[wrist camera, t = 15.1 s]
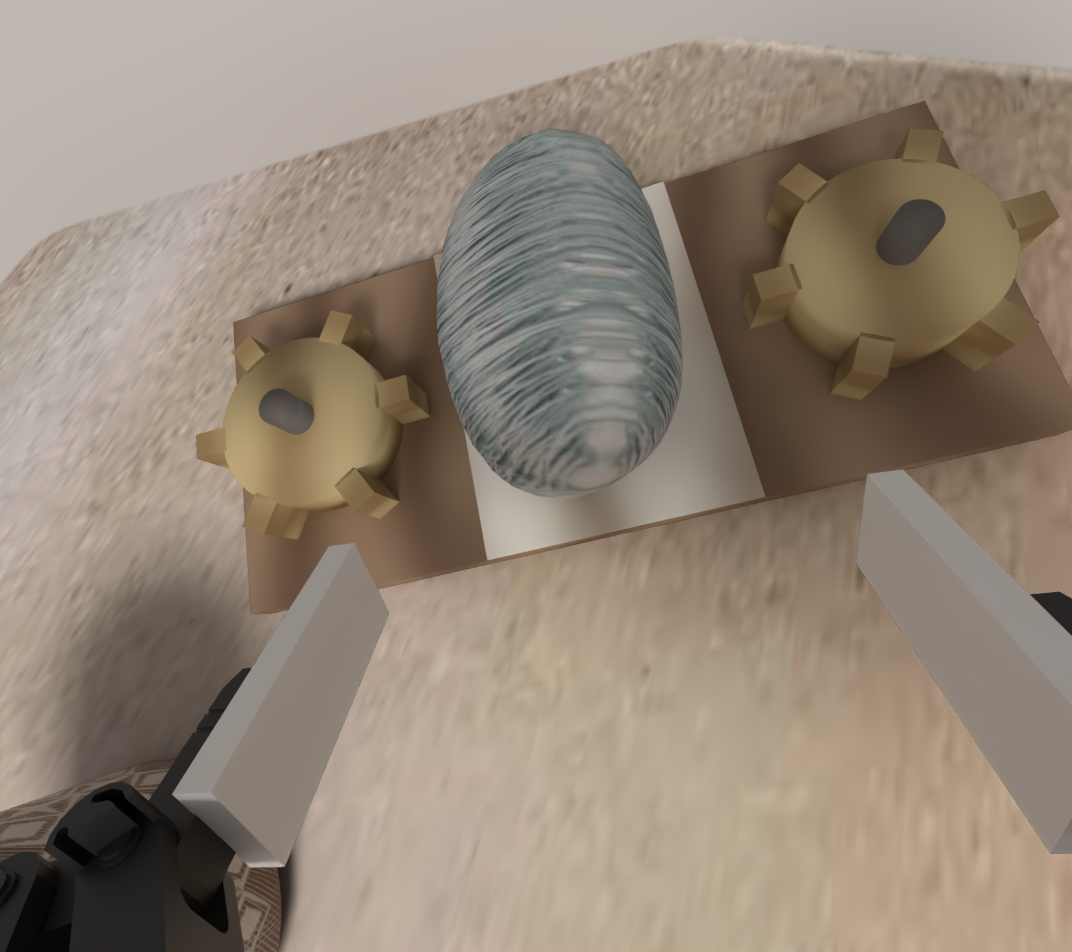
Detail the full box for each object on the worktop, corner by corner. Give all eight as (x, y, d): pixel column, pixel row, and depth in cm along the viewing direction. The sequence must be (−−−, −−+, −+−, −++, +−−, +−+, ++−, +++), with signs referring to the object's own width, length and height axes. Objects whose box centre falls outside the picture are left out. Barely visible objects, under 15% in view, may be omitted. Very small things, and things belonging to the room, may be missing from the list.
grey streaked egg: (422, 195, 24) (449, 14, 14) (614, 221, 26) (745, 83, 17) (427, 494, 24) (457, 514, 15) (616, 489, 27) (745, 503, 17)
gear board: (917, 126, 25) (990, 2, 20) (1068, 432, 21) (1209, 379, 16) (246, 336, 30) (164, 283, 25) (264, 614, 26) (171, 620, 21)
